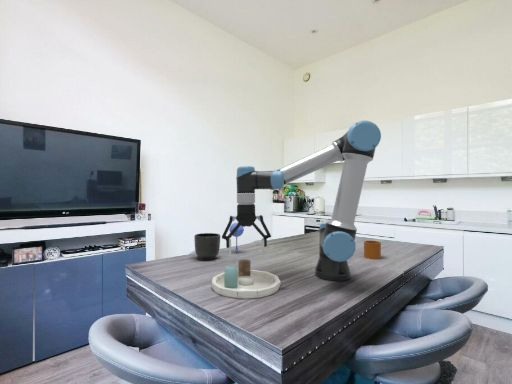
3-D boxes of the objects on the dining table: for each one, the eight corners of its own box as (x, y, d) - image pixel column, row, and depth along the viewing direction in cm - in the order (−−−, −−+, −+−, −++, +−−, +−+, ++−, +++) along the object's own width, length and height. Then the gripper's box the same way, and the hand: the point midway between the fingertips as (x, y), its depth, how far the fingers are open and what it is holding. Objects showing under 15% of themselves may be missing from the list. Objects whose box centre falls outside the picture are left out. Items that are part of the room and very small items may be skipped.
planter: (207, 254, 160) (207, 232, 160) (225, 258, 152) (225, 234, 152) (188, 259, 149) (189, 235, 149) (206, 263, 140) (207, 237, 140)
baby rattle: (241, 254, 160) (241, 223, 160) (227, 253, 162) (227, 223, 162) (245, 251, 169) (245, 222, 169) (231, 250, 170) (231, 221, 170)
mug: (387, 257, 157) (387, 241, 157) (374, 260, 150) (375, 244, 150) (372, 254, 165) (373, 239, 164) (360, 256, 158) (360, 241, 158)
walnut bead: (250, 275, 116) (250, 259, 116) (250, 279, 111) (250, 262, 111) (238, 276, 116) (238, 259, 116) (238, 280, 111) (238, 262, 111)
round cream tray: (288, 281, 113) (288, 273, 113) (262, 303, 90) (262, 294, 90) (233, 272, 125) (233, 265, 125) (198, 290, 101) (198, 282, 101)
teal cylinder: (221, 285, 104) (222, 267, 104) (233, 283, 107) (233, 265, 107) (228, 289, 100) (228, 270, 100) (240, 286, 103) (240, 268, 103)
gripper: (274, 203, 118) (275, 252, 118) (216, 204, 116) (216, 254, 116) (277, 203, 111) (278, 256, 111) (215, 204, 109) (215, 258, 109)
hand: (246, 255), depth 114 cm, fingers open, 13 cm apart
